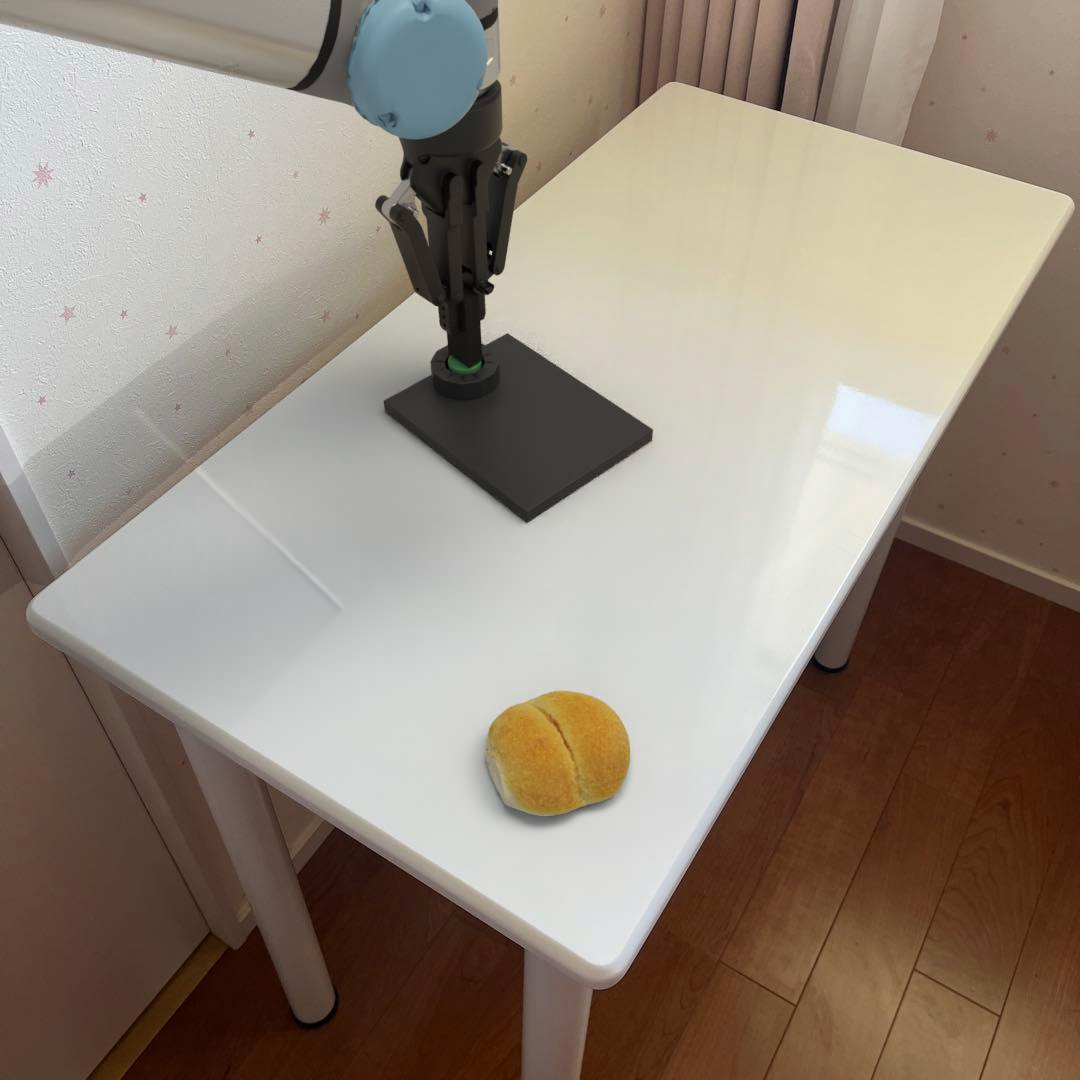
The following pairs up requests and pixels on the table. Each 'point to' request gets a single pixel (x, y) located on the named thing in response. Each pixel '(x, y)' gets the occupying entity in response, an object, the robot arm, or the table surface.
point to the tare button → (462, 367)
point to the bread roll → (557, 753)
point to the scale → (518, 425)
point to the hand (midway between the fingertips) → (465, 356)
